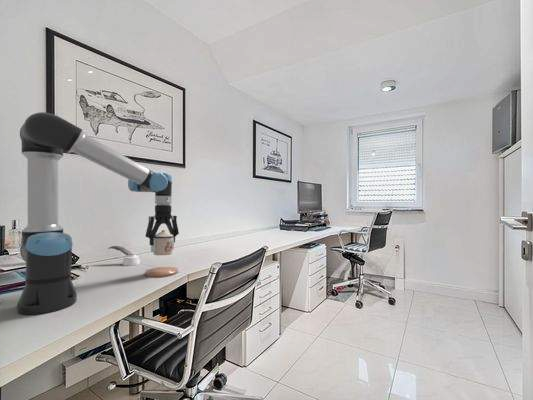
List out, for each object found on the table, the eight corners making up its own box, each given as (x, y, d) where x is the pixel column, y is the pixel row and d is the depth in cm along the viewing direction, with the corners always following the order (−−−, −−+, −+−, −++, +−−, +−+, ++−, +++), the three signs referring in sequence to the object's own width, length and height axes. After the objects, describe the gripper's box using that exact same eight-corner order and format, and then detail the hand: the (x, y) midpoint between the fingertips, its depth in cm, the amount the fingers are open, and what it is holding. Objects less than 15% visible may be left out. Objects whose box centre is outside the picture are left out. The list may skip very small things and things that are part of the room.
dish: (155, 279, 118) (155, 276, 119) (139, 273, 128) (139, 270, 128) (184, 272, 130) (184, 270, 130) (167, 267, 140) (167, 265, 140)
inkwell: (136, 265, 143) (136, 247, 143) (101, 265, 142) (102, 247, 142) (143, 262, 152) (143, 244, 152) (111, 261, 151) (111, 244, 151)
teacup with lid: (167, 255, 124) (168, 231, 124) (149, 255, 125) (149, 230, 125) (178, 251, 136) (179, 229, 136) (161, 251, 137) (162, 228, 137)
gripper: (145, 204, 119) (144, 254, 118) (186, 204, 136) (186, 248, 136) (137, 204, 123) (136, 252, 123) (178, 204, 140) (177, 246, 140)
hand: (162, 250), depth 129 cm, fingers closed on teacup with lid, 9 cm apart
